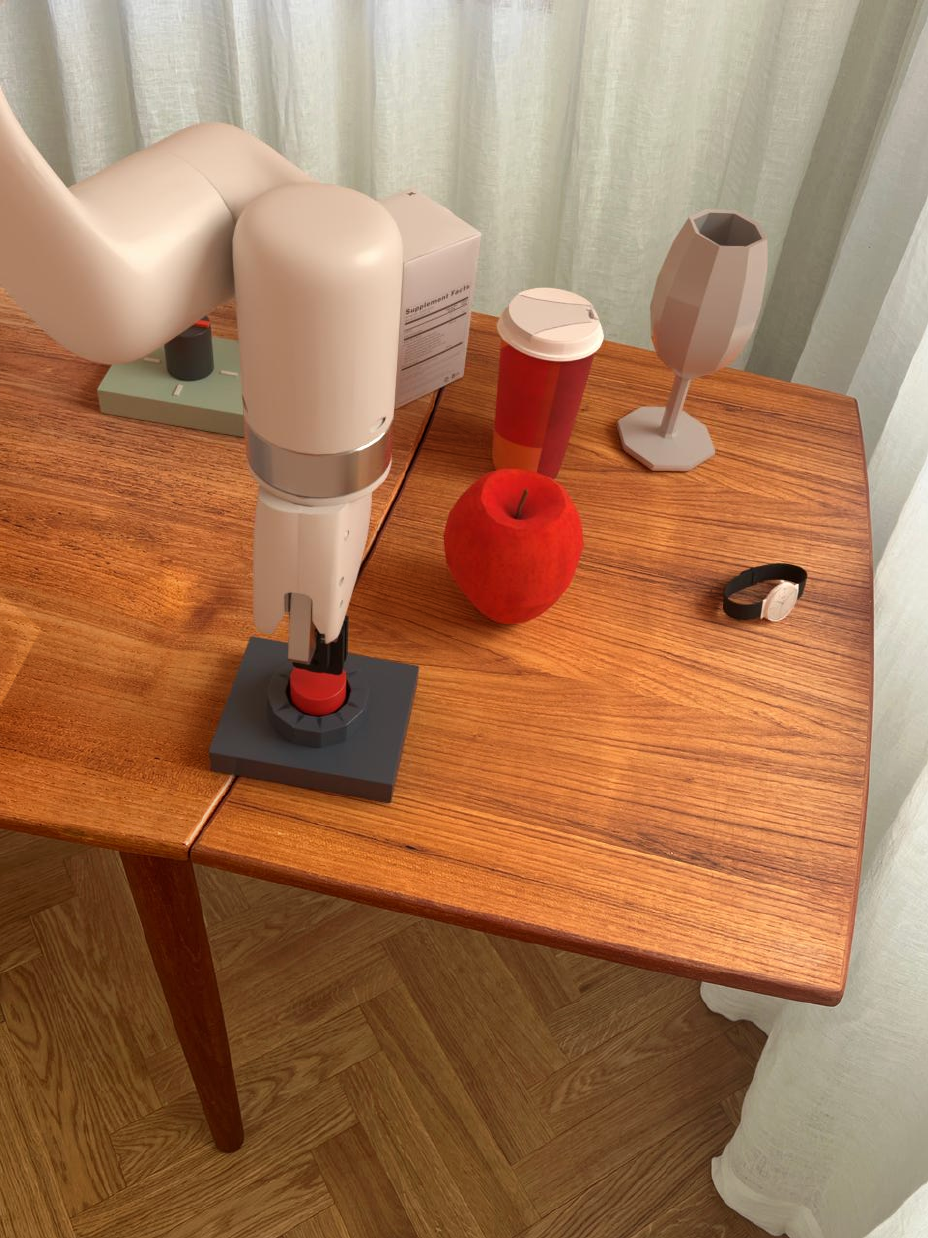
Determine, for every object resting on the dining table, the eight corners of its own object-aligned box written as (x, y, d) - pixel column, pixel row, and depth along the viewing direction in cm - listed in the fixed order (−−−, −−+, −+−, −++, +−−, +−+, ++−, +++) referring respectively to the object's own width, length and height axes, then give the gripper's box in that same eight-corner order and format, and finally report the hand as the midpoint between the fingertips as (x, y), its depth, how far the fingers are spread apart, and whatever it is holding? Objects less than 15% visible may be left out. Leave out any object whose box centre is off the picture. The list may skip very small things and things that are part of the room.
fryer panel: (100, 413, 95) (96, 387, 93) (140, 346, 102) (136, 321, 100) (249, 438, 95) (248, 413, 93) (279, 370, 101) (278, 345, 99)
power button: (284, 710, 72) (284, 694, 71) (298, 668, 74) (297, 651, 73) (339, 720, 72) (339, 704, 71) (350, 677, 74) (351, 661, 73)
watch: (742, 640, 85) (756, 608, 82) (702, 599, 87) (715, 567, 85) (814, 606, 88) (829, 574, 85) (773, 567, 91) (787, 536, 88)
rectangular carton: (330, 362, 103) (331, 211, 92) (403, 330, 107) (413, 183, 96) (392, 413, 99) (402, 262, 88) (467, 378, 103) (484, 230, 92)
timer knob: (160, 377, 95) (154, 329, 91) (174, 350, 98) (169, 302, 94) (206, 384, 95) (202, 336, 91) (219, 357, 98) (215, 310, 94)
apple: (410, 603, 84) (421, 482, 75) (493, 540, 89) (513, 420, 80) (511, 677, 80) (535, 559, 71) (591, 606, 86) (624, 488, 77)
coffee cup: (561, 430, 100) (592, 282, 88) (583, 493, 94) (619, 344, 83) (469, 433, 98) (489, 283, 87) (486, 497, 93) (510, 346, 82)
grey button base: (210, 771, 73) (206, 735, 70) (251, 655, 79) (249, 618, 76) (391, 803, 72) (394, 769, 69) (417, 684, 79) (421, 648, 76)
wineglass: (646, 483, 96) (710, 266, 80) (598, 422, 101) (650, 206, 85) (730, 463, 99) (807, 249, 83) (679, 404, 104) (743, 192, 88)
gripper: (284, 341, 62) (291, 569, 76) (204, 522, 52) (229, 747, 66) (416, 363, 62) (399, 588, 75) (361, 548, 52) (353, 769, 65)
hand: (320, 661), depth 70 cm, fingers closed
